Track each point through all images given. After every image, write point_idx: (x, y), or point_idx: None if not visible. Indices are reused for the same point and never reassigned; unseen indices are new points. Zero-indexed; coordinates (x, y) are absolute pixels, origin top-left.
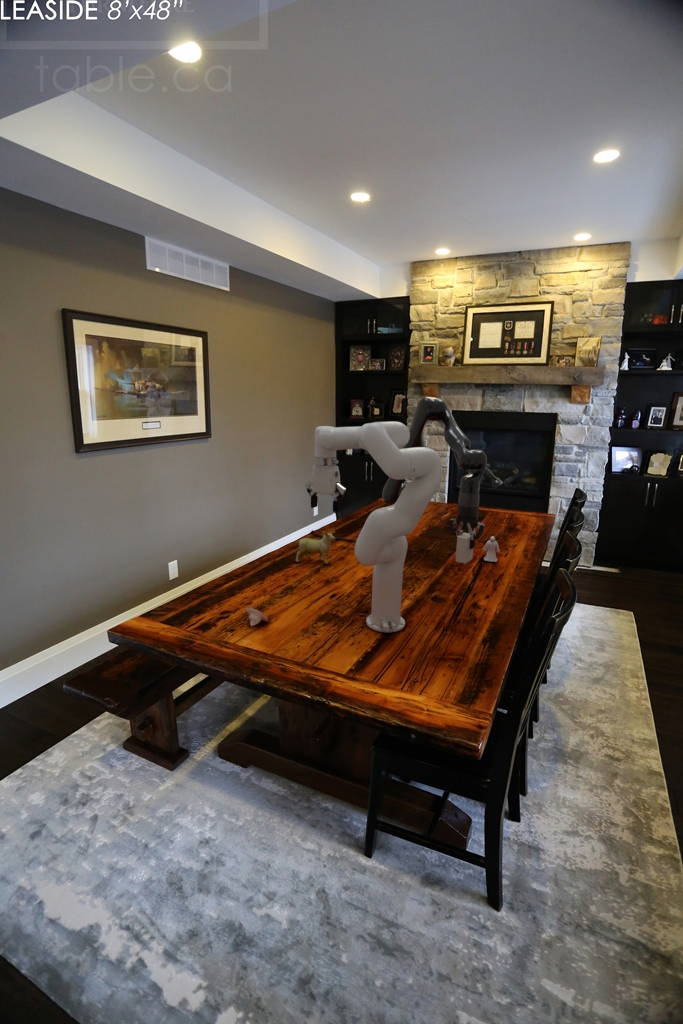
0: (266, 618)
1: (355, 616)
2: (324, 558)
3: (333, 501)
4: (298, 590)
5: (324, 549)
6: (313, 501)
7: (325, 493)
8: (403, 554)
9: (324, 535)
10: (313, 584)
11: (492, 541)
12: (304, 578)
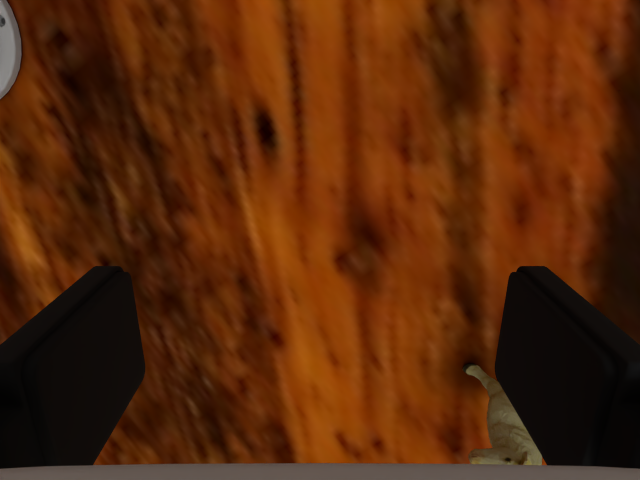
0: None
1: (73, 18)
2: (485, 377)
3: (7, 356)
4: (415, 88)
5: (498, 400)
6: (554, 339)
7: (154, 470)
8: None
9: (534, 460)
10: (399, 178)
11: None
12: (466, 206)
